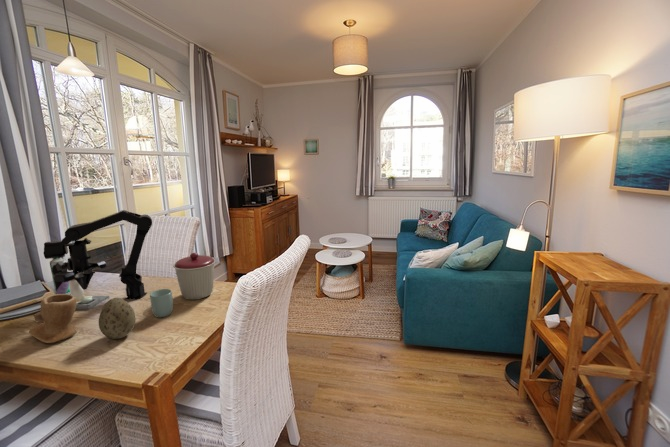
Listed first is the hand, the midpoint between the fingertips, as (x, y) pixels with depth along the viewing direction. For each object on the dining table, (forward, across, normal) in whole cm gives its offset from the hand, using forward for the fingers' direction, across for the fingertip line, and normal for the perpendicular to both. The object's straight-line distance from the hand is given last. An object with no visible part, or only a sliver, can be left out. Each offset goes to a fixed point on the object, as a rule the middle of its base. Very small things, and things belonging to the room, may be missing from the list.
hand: (84, 289), depth 132 cm
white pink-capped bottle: (+7, -3, -8) cm, 11 cm away
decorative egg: (+8, +18, +34) cm, 39 cm away
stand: (+8, +11, -5) cm, 14 cm away
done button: (+6, 0, 0) cm, 6 cm away
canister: (+8, -19, +41) cm, 46 cm away
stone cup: (+8, +21, +11) cm, 25 cm away
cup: (+8, +1, +38) cm, 39 cm away
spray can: (+8, -6, -20) cm, 22 cm away
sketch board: (+8, -2, -5) cm, 9 cm away
